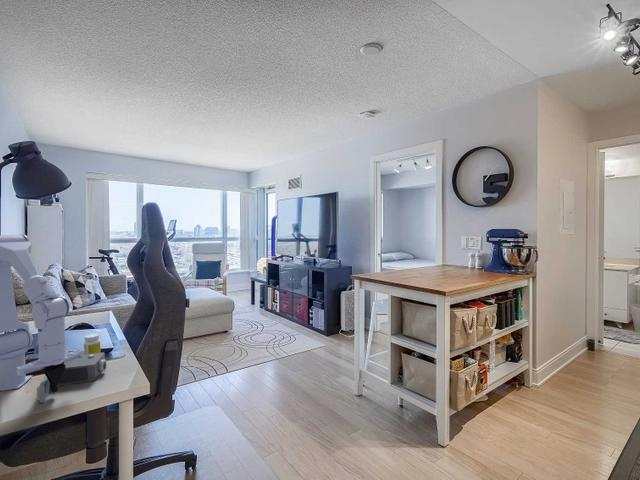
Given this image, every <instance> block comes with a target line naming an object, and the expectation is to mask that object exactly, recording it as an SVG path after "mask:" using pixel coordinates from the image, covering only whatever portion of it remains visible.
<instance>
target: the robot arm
mask: <svg viewBox="0 0 640 480" xmlns="http://www.w3.org/2000/svg"><path fill="white" fill-rule="evenodd" d="M31 243H32V242H31V240H30V238H29V236H27V235H26V234H9V235H7V234H6V235H5V234H4V235H0V392H1V391H9V390H17V389H20V388H21V387H23V386H24V385H25V384H26V383H27V382H28V381H29V380H31V378H32V377H33V375H31V374H30V373H33V372H35V371H40V370H41V372H42V373H43V374H44V375H46V377H47V379H48V381H49V383H50V390H49V392H51V393H52V394H55V393H58V392H59V385H58V383H59V380H60V377H61V375H62V373H63V372H64V370H65V367H66V365H65V364H64V362H68V361H71V360H74V359H78V358H84V357H85V351H84V349H79V350H74V351H68V352H66V351H67V350H66V326H65V325H66V324H65V323H66V322H65V321H66V320H65V317H67V316H68V315H69V313H70V308H71V307H70V304H69V301H68V299H67V298H66V296H63V295H62V294H60V293H57V292H56V290H55V289H54V287H53V286H52V284H51V282H50V280H49V279H48V278H47V277H46V276H43V275H40V273H39V271H38V269H37V267H36V264H35V262H34V261H33V258H32V256H31V252H32V244H31ZM11 267H12V268H13V269H14V270H15V272H16V273H17V275H18V276H19V277H20V278H21V279H22V281H23V283H22V285H21V289H22V290H23V292H24V294H25V296H26V297H27V299H28V300H29V303H31V304H30V305H31V306H32V308H31V311H30V313H31V316H32V317H31V318H32V319H33V320H34V327H35V329H37V341H38V343H37V344H38V345H37V346H38V359H37V360H34V361H31V362H29V363H26V353H27V352H28V349H29V348H30V347H31V346H32V344H33V340H34V339H33V334H32V332H31V330H30V328H29V324H28V323H26V322H24V321H21V320H19V319H18V314H17V306H16V298H15V293H14V291H15V290H14V285H13V277H12V271H11V270H12V269H11ZM26 374H30V375H26Z"/></svg>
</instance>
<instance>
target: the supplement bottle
mask: <svg viewBox="0 0 640 480" xmlns="http://www.w3.org/2000/svg"><path fill="white" fill-rule="evenodd" d="M83 350H84V351H85V354H94V353H102V352H101V340H100V334H99V333H92V334H87V335H85V336H84V342H83Z"/></svg>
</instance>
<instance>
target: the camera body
mask: <svg viewBox="0 0 640 480" xmlns="http://www.w3.org/2000/svg"><path fill="white" fill-rule="evenodd" d="M105 357H106V354H105V352H104V351H103V352H101V353H94V354H85V357H84V358H78V359H74V360H71V361H68V362H64V364H65V365H66V367H65V370H64V372H63V373H62V375H61V377H60V380H59V383H58V386H65V385H73V384H80V383H87V382H95V381H97V379H98V378H99V376H100V375H101V374H102V372H105V371H106V369H107V360H106V359H105Z"/></svg>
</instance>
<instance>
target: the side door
mask: <svg viewBox="0 0 640 480" xmlns="http://www.w3.org/2000/svg"><path fill="white" fill-rule="evenodd" d="M49 392H50V383H49V381H48V379H47V377H46V375H45V374H44V375H43V377H42V379H41V382H40V384H39V386H38V387H37V388H36V399H37V400H39V403H45V402H46V401H47V400H46V399H47V398H48V394H49Z"/></svg>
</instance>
